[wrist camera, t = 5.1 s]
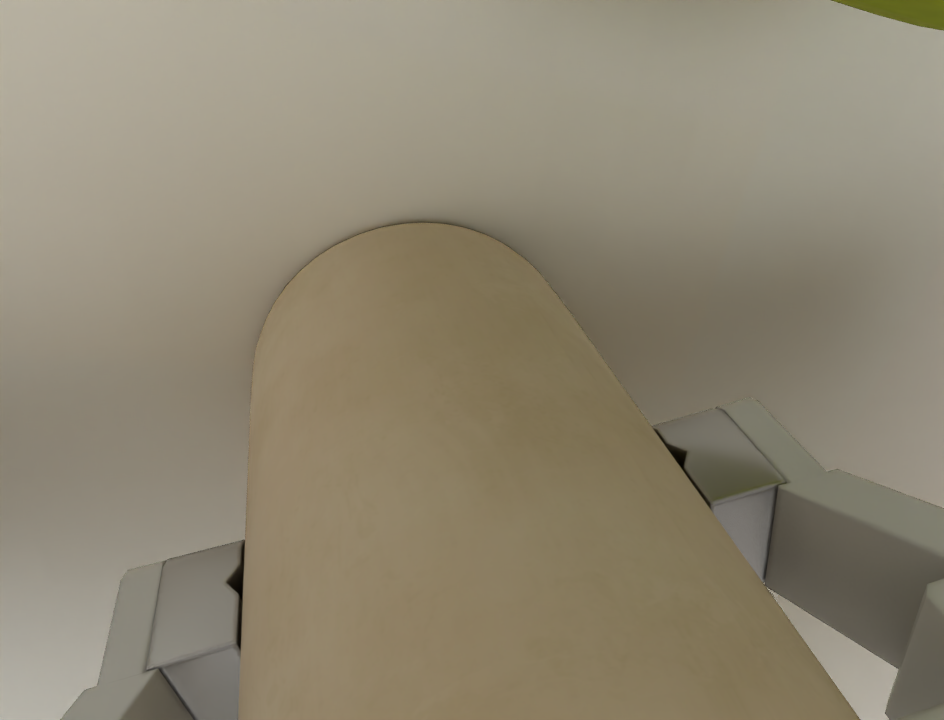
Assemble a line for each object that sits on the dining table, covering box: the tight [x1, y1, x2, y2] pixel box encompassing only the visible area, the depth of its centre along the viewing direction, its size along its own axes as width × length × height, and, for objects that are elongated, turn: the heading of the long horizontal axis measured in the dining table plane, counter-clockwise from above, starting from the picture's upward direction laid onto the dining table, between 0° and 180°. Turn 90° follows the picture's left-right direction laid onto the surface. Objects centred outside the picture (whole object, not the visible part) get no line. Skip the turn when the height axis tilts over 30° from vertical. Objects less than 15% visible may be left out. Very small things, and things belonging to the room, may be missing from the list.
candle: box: [238, 223, 860, 720], centre depth 9 cm, size 6×6×10 cm
